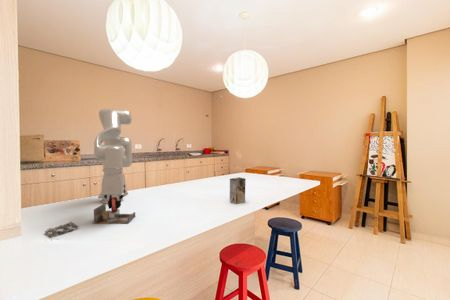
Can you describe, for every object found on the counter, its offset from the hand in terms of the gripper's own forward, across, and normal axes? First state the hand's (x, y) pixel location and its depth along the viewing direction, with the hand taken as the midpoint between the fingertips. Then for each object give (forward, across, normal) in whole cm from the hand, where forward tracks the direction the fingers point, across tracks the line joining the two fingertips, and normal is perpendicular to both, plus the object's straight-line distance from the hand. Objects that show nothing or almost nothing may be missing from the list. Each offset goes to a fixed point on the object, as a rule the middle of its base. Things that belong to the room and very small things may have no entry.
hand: (114, 207), depth 106 cm
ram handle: (+6, 0, 0) cm, 6 cm away
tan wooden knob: (+6, -4, 0) cm, 7 cm away
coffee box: (+8, +65, +36) cm, 75 cm away
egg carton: (+8, -16, -13) cm, 22 cm away
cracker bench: (+8, 0, 0) cm, 8 cm away
